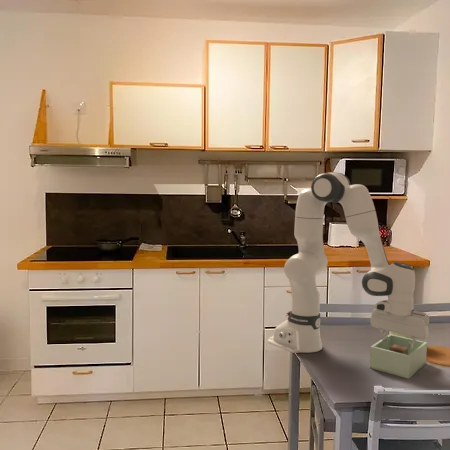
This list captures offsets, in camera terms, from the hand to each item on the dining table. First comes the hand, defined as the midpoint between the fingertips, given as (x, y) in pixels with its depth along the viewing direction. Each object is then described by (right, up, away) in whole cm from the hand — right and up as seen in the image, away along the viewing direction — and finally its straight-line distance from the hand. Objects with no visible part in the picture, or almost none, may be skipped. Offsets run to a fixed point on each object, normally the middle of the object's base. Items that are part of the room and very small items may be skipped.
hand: (397, 344), depth 174 cm
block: (0, -7, 0) cm, 7 cm away
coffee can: (+10, -6, +24) cm, 26 cm away
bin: (+1, -8, 0) cm, 8 cm away
